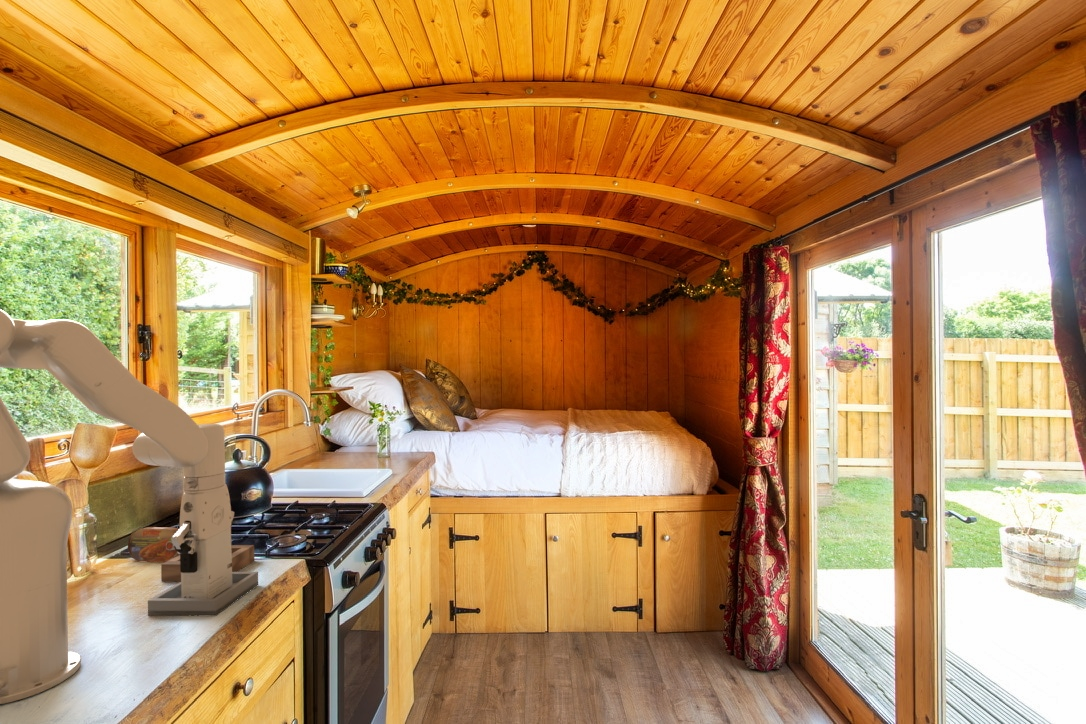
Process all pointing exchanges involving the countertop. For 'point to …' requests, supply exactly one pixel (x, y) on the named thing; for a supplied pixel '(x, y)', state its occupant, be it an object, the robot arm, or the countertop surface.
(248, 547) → the walnut holder
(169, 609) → the gray tray
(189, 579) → the skincare box
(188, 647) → the countertop surface
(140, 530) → the tin
